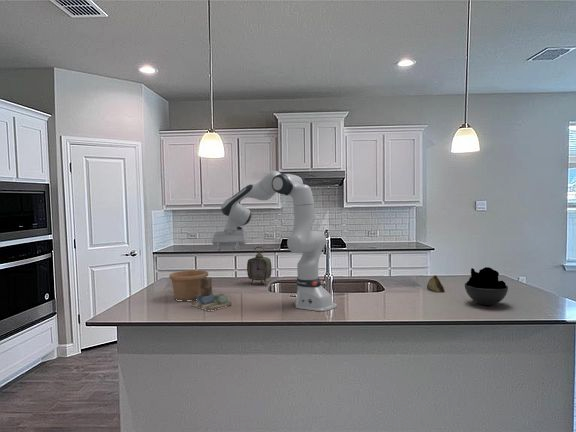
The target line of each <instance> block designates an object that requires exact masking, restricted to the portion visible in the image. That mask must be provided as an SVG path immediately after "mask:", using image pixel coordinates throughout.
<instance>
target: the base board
mask: <svg viewBox="0 0 576 432" xmlns="http://www.w3.org/2000/svg"><path fill="white" fill-rule="evenodd" d="M191 302H192V303H191V306H192V305H194V306H197V307H200V308H203V309H206V310H205V311H207V310H210V311H209V312H212V311H211V310H214V311H216V310H215V309H218V308H221V307H225V306H228V307H230V306H229V305H232V304H233V303H232V301H230V300H229V295H228V294H224V293H220V292H219V293H217V294H214V293H212V294H211V295H210V296H201V294H200V295H197V300H196V301H191ZM197 307H196V308H197ZM200 308H199V309H200ZM225 308H226V307H225ZM203 309H202V310H203ZM221 309H222V308H221ZM218 310H219V309H218Z"/></svg>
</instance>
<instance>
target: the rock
mask: <svg viewBox="0 0 576 432" xmlns="http://www.w3.org/2000/svg"><path fill="white" fill-rule="evenodd" d="M426 289H427V290H430V291H431V292H436V293H446V290H445V287H444V285H443V284H442V283H441V280H440V279H439V278H438V276H437V275H435V274H434V275H433V276H432V277H431V278H430V279H429V280H428V282H427V284H426Z"/></svg>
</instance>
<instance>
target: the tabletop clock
mask: <svg viewBox="0 0 576 432" xmlns="http://www.w3.org/2000/svg"><path fill="white" fill-rule="evenodd" d="M257 248H258V249H262V251H260V250H259V251H256V249H257ZM254 252H255V253H256V255H255V256H254V257H252V258H249V259H247V261H246V262H247V263H246V273H247V278H248V279H249V280H251V281H250V282H249V284H250V285H253V282H254V281H259V282H260V284H263V283H264V286H267V285H268V283H267V282H266V280H267V279H269V278H271V277H272V270H273V269H272V268H273V267H272V261H271V258H270V257H266V256H264V255H263V253H264V252H265V248H264V247H262V246H256V247H255V248H254ZM263 281H264V282H263Z"/></svg>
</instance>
